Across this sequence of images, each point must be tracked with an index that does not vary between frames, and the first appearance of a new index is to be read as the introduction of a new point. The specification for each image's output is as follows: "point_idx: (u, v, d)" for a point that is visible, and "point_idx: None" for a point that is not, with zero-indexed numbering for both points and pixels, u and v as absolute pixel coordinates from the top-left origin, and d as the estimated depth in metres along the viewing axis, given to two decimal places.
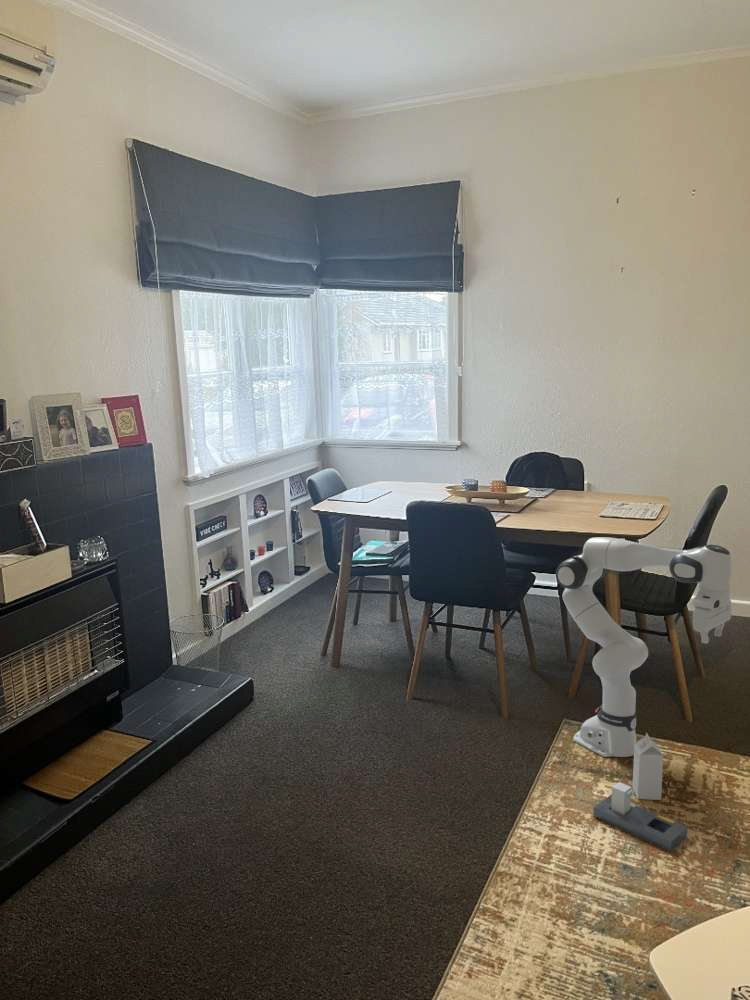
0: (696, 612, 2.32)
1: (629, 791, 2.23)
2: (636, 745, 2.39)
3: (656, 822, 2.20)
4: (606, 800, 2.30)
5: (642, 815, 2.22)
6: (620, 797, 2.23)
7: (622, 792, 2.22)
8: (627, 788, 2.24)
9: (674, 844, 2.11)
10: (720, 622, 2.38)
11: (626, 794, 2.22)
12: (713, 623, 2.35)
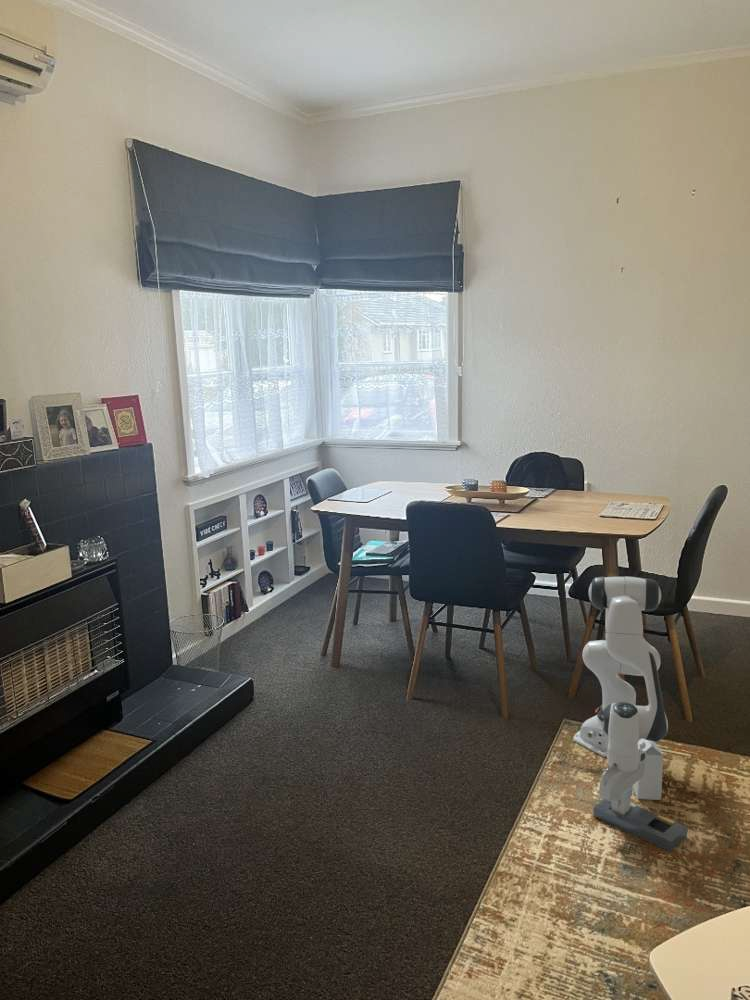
0: None
1: (629, 791, 2.23)
2: None
3: (656, 822, 2.20)
4: (606, 800, 2.30)
5: (642, 815, 2.22)
6: (620, 797, 2.23)
7: (622, 792, 2.22)
8: None
9: (674, 844, 2.11)
10: None
11: (626, 794, 2.22)
12: None
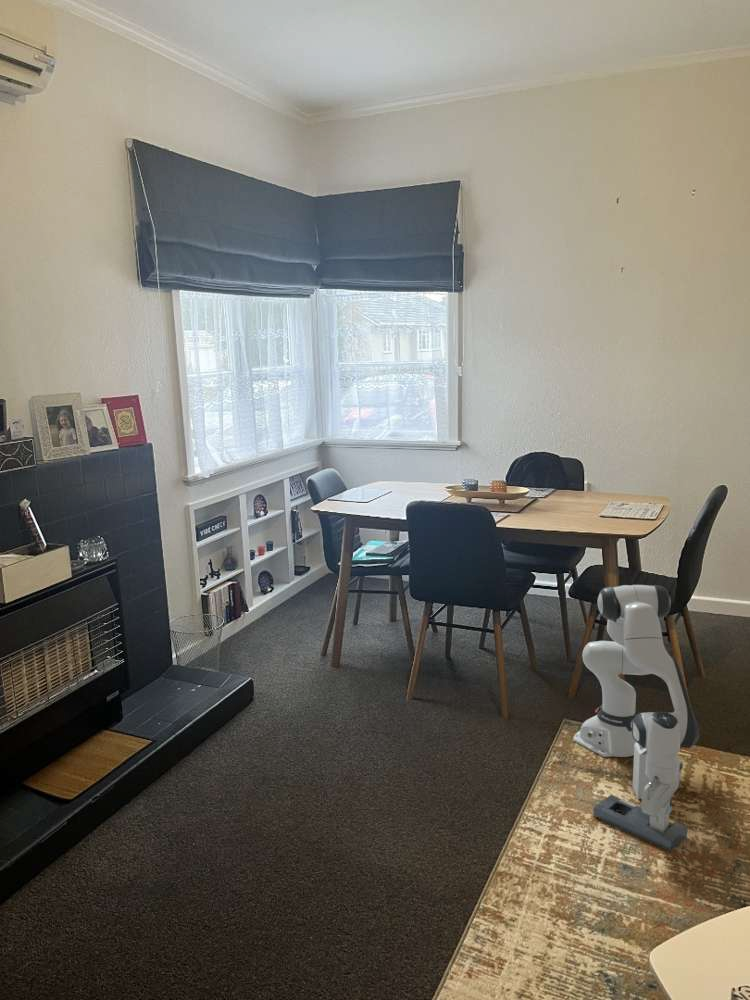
0: None
1: (669, 807, 2.15)
2: (636, 745, 2.39)
3: None
4: (606, 800, 2.30)
5: (642, 815, 2.22)
6: (660, 814, 2.14)
7: (662, 808, 2.14)
8: (666, 804, 2.15)
9: (674, 844, 2.11)
10: None
11: (666, 810, 2.14)
12: None
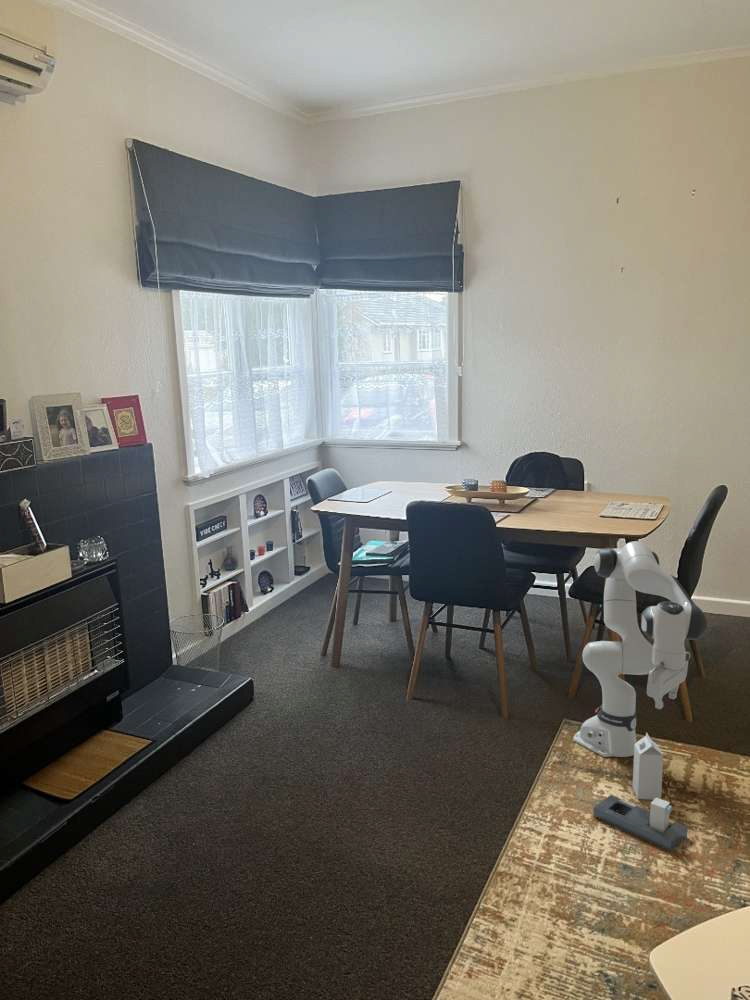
0: None
1: (668, 807, 2.15)
2: (636, 745, 2.39)
3: None
4: (606, 800, 2.30)
5: (642, 815, 2.22)
6: (660, 814, 2.14)
7: (662, 808, 2.14)
8: (666, 804, 2.15)
9: (674, 844, 2.11)
10: None
11: (666, 810, 2.14)
12: None
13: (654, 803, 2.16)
